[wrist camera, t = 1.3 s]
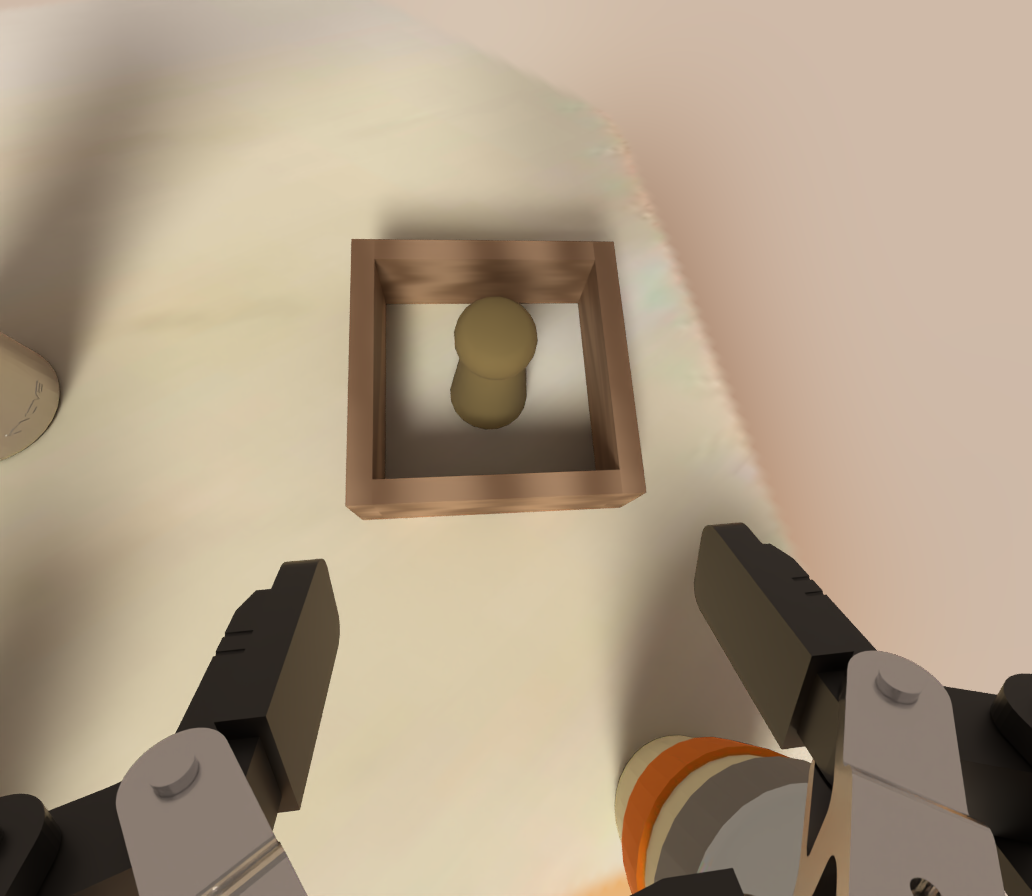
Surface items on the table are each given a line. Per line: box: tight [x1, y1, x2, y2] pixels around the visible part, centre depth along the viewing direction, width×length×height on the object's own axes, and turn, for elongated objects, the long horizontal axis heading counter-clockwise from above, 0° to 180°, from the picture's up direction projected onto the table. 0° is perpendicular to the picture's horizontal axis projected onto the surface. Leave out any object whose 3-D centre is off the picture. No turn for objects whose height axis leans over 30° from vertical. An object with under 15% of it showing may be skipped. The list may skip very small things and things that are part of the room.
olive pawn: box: [450, 297, 537, 429], centre depth 37 cm, size 6×6×11 cm
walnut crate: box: [345, 239, 646, 520], centre depth 39 cm, size 19×19×6 cm
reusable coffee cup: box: [615, 735, 811, 896], centre depth 28 cm, size 13×13×15 cm
